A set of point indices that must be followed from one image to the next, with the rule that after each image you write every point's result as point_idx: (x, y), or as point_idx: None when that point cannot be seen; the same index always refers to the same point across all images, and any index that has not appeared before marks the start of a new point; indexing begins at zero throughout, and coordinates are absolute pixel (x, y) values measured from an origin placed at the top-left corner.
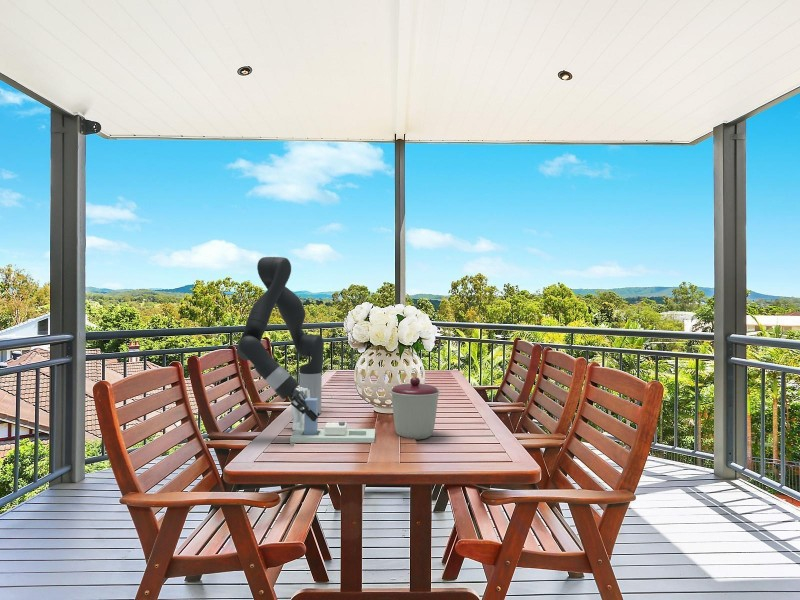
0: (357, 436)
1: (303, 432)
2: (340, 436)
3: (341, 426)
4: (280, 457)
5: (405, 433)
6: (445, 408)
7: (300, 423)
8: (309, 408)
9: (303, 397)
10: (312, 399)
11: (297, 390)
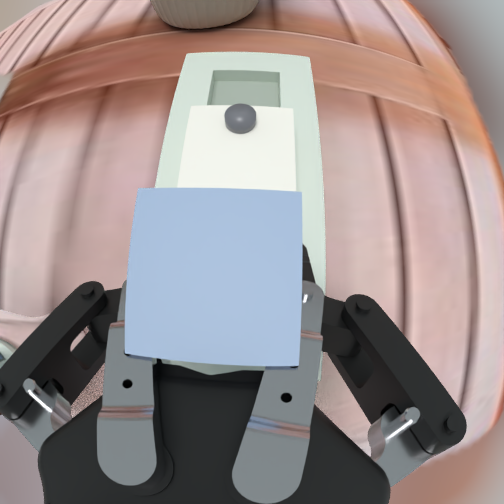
0: (295, 93)
1: None
2: (300, 147)
3: (273, 122)
4: (445, 360)
5: (251, 7)
6: (25, 32)
7: None
8: (311, 290)
9: (158, 397)
10: (241, 253)
11: (57, 493)
